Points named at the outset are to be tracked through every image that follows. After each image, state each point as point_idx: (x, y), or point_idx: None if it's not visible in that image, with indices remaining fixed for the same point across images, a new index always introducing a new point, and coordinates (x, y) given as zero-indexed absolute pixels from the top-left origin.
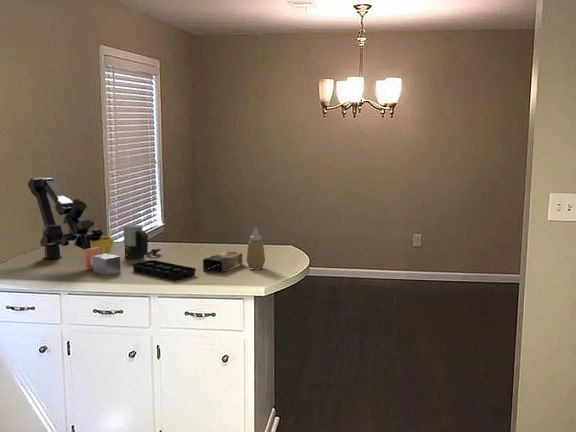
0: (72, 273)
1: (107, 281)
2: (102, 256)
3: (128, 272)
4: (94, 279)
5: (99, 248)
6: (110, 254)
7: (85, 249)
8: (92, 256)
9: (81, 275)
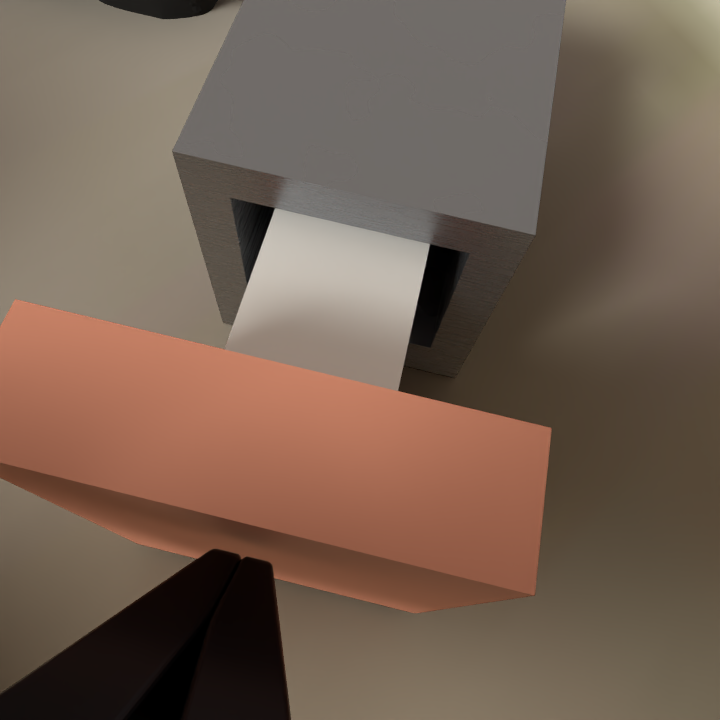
0: (697, 598)
1: (655, 5)
2: (454, 55)
3: None
4: (692, 135)
5: (53, 320)
6: (235, 36)
7: (501, 522)
8: (534, 235)
9: (680, 381)
